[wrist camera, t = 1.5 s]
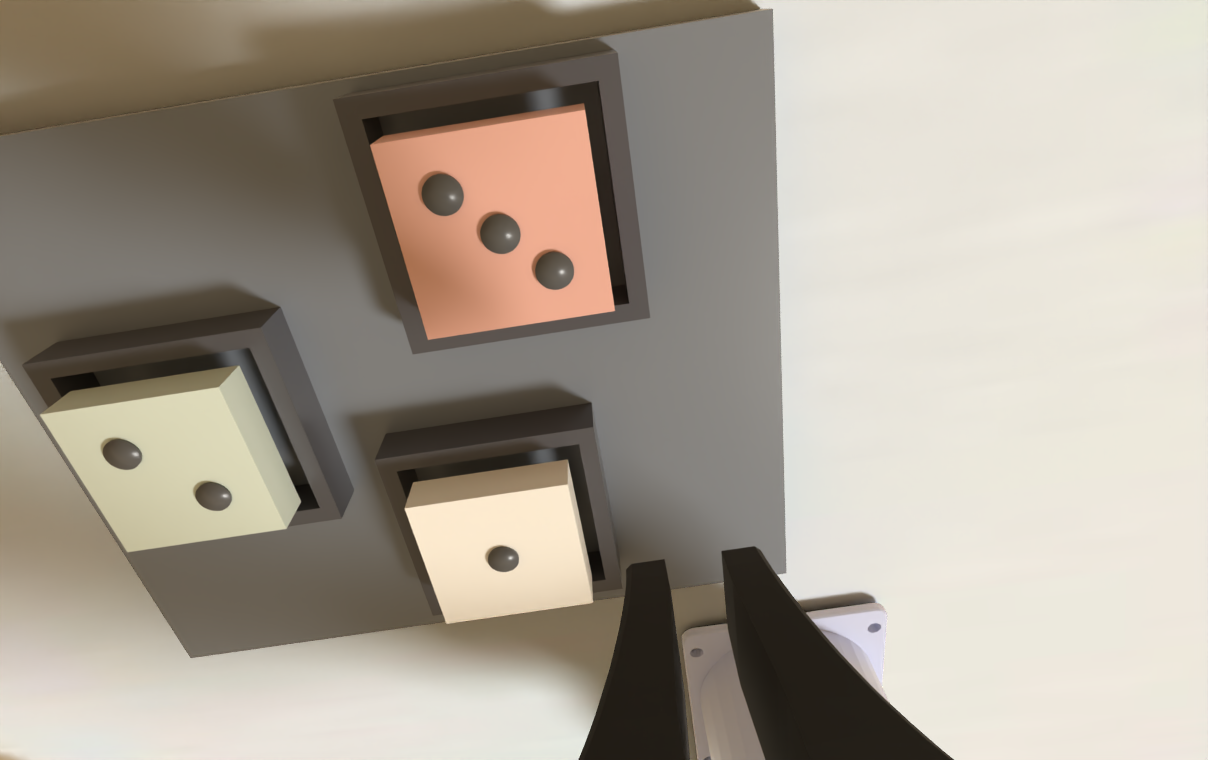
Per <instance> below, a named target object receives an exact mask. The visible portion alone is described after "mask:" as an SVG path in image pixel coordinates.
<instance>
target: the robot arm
mask: <svg viewBox="0 0 1208 760" xmlns="http://www.w3.org/2000/svg"><path fill="white" fill-rule="evenodd" d="M721 554H722V566H723V578H724V590H725V602H726V614H727V623H725V624H718V625H711V626H704V627H697V628H691V629H688V630H687V631H685V632H684V633H683V635H682V646H683V653H684V661H685V669H686V676H687V684H688V691H689V699H690V707H691V714H692V722H693V729H694V737H695V745H696V752H697V760H954V759H952V758H951V757H950V756H949V755H947V754H946V753H945V752H944V751H942V750H941V749H940V748H939V747H938V746H937V745H935V744H934V743H933V742H932V741H931V740H930V739H929V738H927V737H926V736H925V735H924V734H923V733H922V732H921V731H919V730H918V729H917V728H916V727H915V726H914V725H913V724H911V723H910V722H909V721H908V720H907V719H906V718H905V717H904V716H903V715H902V714H901V713H900V712H898V711H897V710H896V709H895V708H894V707H893V706H892V705H891V704H890V702H889V700H888V698H887V696H886V694H885V692H884V690H883V687H882V681H883V667H884V654H885V641H886V627H887V613H886V611H885V609H884V607H883V606H882V605H881V604H878V603H867V604H860V605H853V606H846V607H839V608H832V609H825V610H818V611H810V612H805V611H804V610H803V609H802V607H801V606H800V605H799V604H798V602H797V601H796V600H795V599H794V597H793V596H792V595H791V593H790V592H789V591H788V589H787V588H786V587H785V585H784V584H783V583H782V581H781V580H780V578H779V577H778V576H777V574H776V573H775V571H774V570H773V568H772V567H771V565H770V564H769V562H768V561H767V559H766V558H765V556H764V555H763V553H762V551H761V550H760V549H758V548H757V547H755V546H752V547H745V548H738V549H731V550H724V551H721ZM695 648H698V649H695ZM579 760H690V757H689V744H688V731H687V718H686V705H685V693H684V685H683V678H682V670H681V663H680V656H679V648H678V641H677V634H676V626H675V619H674V612H673V604H672V597H671V590H670V585H669V579H668V574H667V569H666V564H665V559H661V560H654V561H648V562H641V563H634V564H631V565H630V566H629V567H628V568H627V569H626V590H625V599H624V606H623V612H622V618H621V623H620V628H619V633H618V637H617V641H616V645H615V650H614V654H613V658H612V662H611V666H610V670H609V673H608V676H607V680H606V683H605V686H604V689H603V693H602V696H601V699H600V702H599V706H598V709H597V712H596V715H595V718H594V720H593V723H592V726H591V729H590V732H589V734H588V737H587V740H586V742H585V745H584V747H583V750H582V753H581V755H580V758H579Z"/></svg>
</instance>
